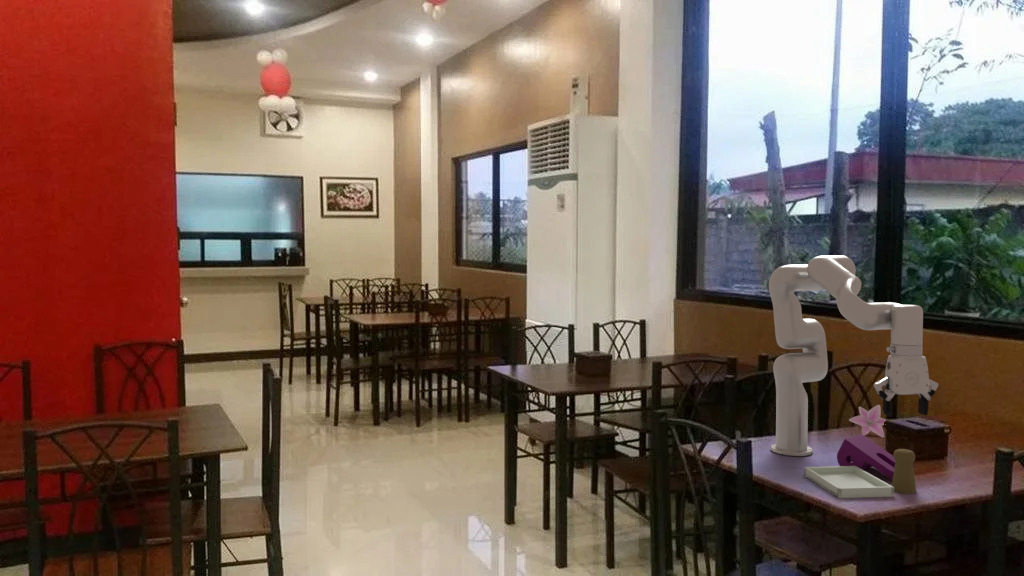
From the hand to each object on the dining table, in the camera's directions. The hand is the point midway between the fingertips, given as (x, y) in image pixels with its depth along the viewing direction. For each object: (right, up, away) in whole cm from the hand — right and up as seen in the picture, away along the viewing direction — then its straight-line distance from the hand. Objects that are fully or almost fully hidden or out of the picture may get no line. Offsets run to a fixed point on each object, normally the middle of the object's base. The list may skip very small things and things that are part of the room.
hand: (905, 414), depth 203 cm
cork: (0, -21, +1) cm, 21 cm away
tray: (-13, -20, +5) cm, 25 cm away
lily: (+20, -18, +63) cm, 69 cm away
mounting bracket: (0, -20, +17) cm, 26 cm away
